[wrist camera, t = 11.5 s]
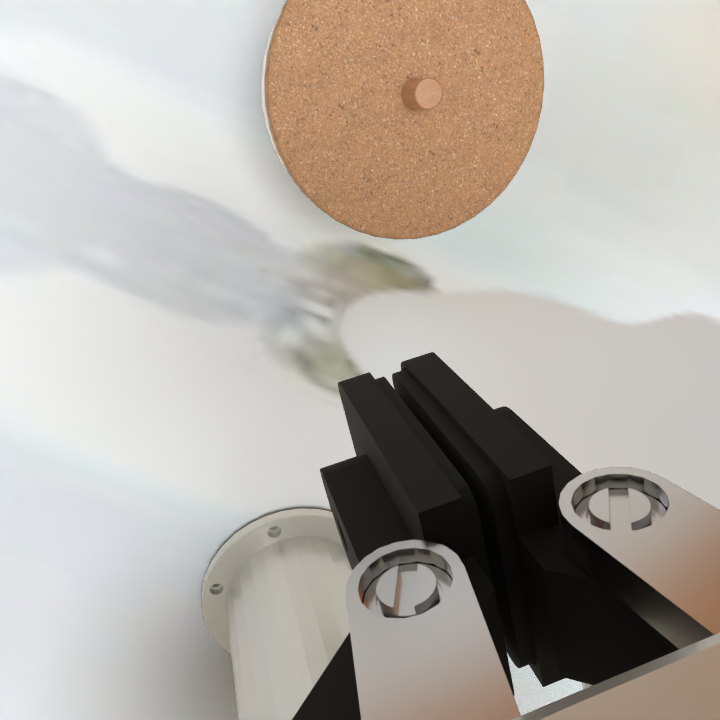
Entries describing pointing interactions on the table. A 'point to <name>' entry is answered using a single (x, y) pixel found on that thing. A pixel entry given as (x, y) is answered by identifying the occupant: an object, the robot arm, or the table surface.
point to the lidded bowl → (402, 107)
